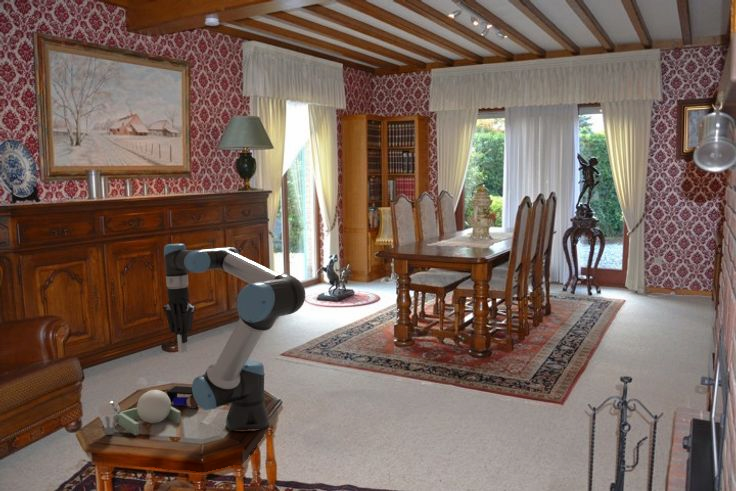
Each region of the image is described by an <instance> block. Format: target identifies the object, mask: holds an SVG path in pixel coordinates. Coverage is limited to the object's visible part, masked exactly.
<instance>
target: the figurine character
mask: <svg viewBox="0 0 736 491" xmlns="http://www.w3.org/2000/svg"><path fill="white" fill-rule="evenodd" d="M165 393H166V394H167V395H168V397H169V398H170V401H171V406H172V407H174V406H187V407H188V408H190V409H195V408H198V406H199V405H198V404H197V402H196V401H195V399H194V396H193V392H192V386H184V385H183V386H182V385H181V386H180V385H175V386H173V387H172V388H169V389H168V390H166V391H165ZM178 395H189V396H178Z"/></svg>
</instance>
